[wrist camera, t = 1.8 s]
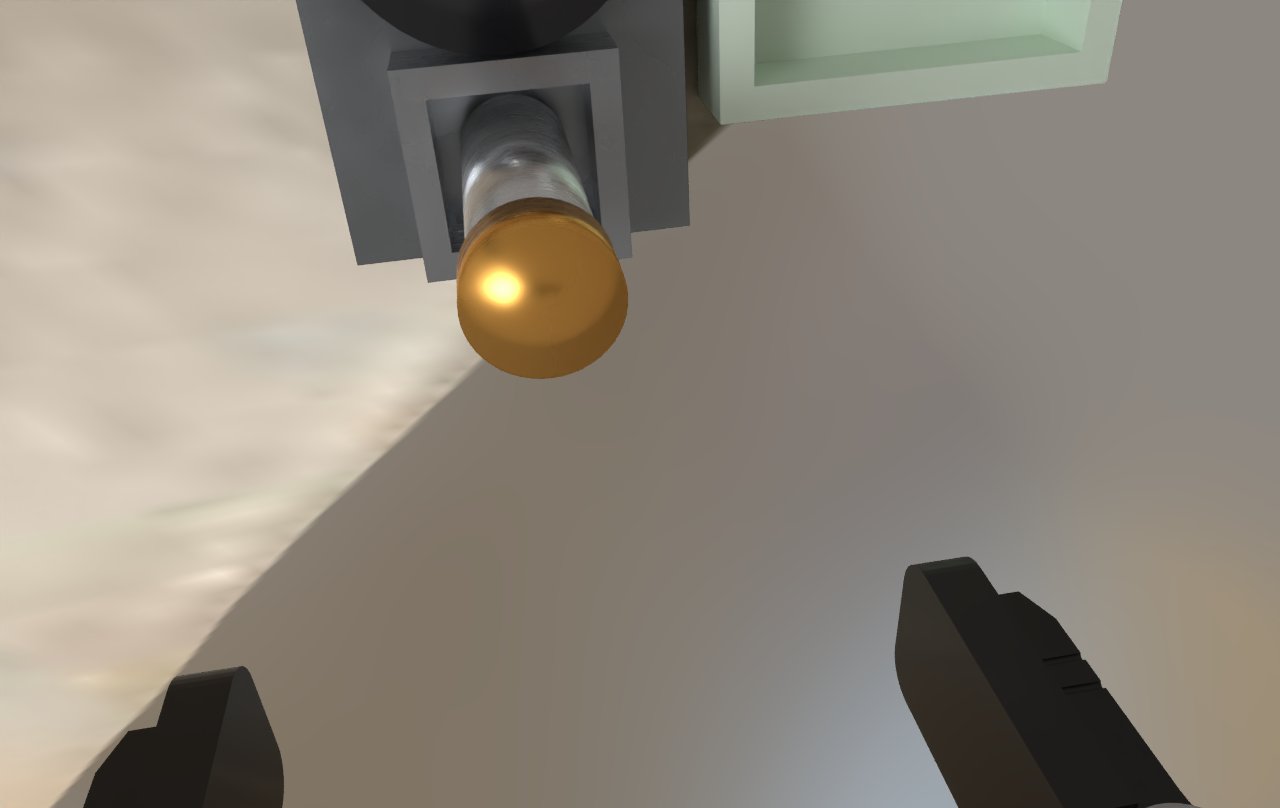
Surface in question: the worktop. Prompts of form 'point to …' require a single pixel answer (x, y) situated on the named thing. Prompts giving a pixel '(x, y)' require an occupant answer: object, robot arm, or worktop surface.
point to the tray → (892, 52)
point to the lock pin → (532, 247)
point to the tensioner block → (477, 71)
